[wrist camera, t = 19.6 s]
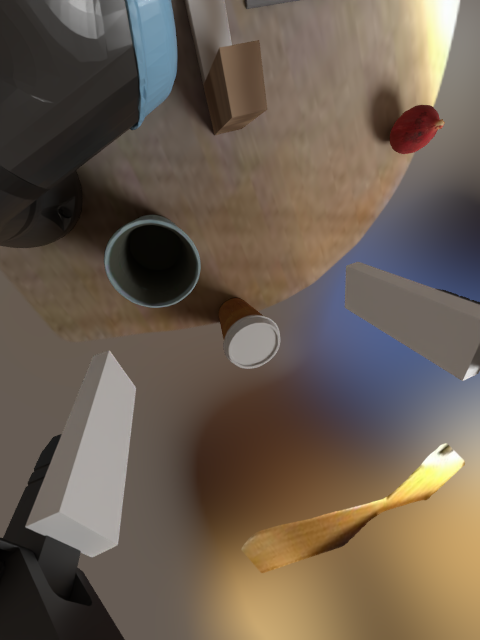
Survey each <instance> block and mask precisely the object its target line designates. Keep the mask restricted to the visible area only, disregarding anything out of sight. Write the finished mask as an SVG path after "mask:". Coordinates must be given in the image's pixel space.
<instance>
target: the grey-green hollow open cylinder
mask: <svg viewBox="0 0 480 640" xmlns="http://www.w3.org/2000/svg"><path fill="white" fill-rule="evenodd" d="M104 265H105V270H106V273H107V276H108V278H109V280H110V282H111V284H112V285H113V286H114V288H115V289H116V290H117V291H118V292H119V293H120V294H121V295H122V296H124V297H125V298H126V299H128V300H130V301H131V302H133V303H136V304H138V305H142V306H146V307H152V308H160V307H166V306H170V305H173V304H176V303H178V302H179V301H181V300H182V299H184V298H185V297H186V296H187V295H188V294H189V293H191V291H192V290H193V288H194V287H195V285H196V283H197V281H198V278H199V274H200V258H199V254H198V251H197V249H196V247H195V245H194V243H193V241H192V240H191V239H190V238H189V237H188V235H187V234H186V233H184V232H183V231H182V230H181V229H179V228H178V227H177V226H176V225H175V224H174V223H173V222H171V221H170V220H168V219H167V218H165V217H162V216H158V215H145V216H142V217H140V218H138V219H136V220H134V221H132V222H130V223H127V224H126V225H124V226H122V227H121V228H120V229H119V230H118V231H117V232H116V233H115V234H114V235H113V236H112V237H111V238H110V240H109V242H108V244H107V246H106V249H105V255H104Z"/></svg>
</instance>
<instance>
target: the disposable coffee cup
mask: <svg viewBox="0 0 480 640" xmlns="http://www.w3.org/2000/svg"><path fill="white" fill-rule="evenodd" d="M219 319H220V324H221V329H222V334H223V338H224V343H223V347H224V353H225V355H226V357H227V358H228V359H229V360H230V361H231V362H232V363H234V364H235V365H237V366H239V367H241V368H248V369H249V368H256V367H259V366H261V365H263V364H265V363H267V362H268V361H269V360H270V359H271V358H272V357H273V356H274V355H275V354H276V352H277V351H278V349H279V345H280V332H279V328H278V326H277V324H275V322H274V321H273V320H271V319H270V318H268V317H266V316H263V315H262V314H260V313H259V312H258V311H257V310H255V309H254V308H253V307H251V306H250V305H249V304H248V303H246V302H245V301H244V300H242V299H239V298H233V299H229V300H227V301H226V302H224V303H223V305H222V306H221V307H220V310H219Z"/></svg>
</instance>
